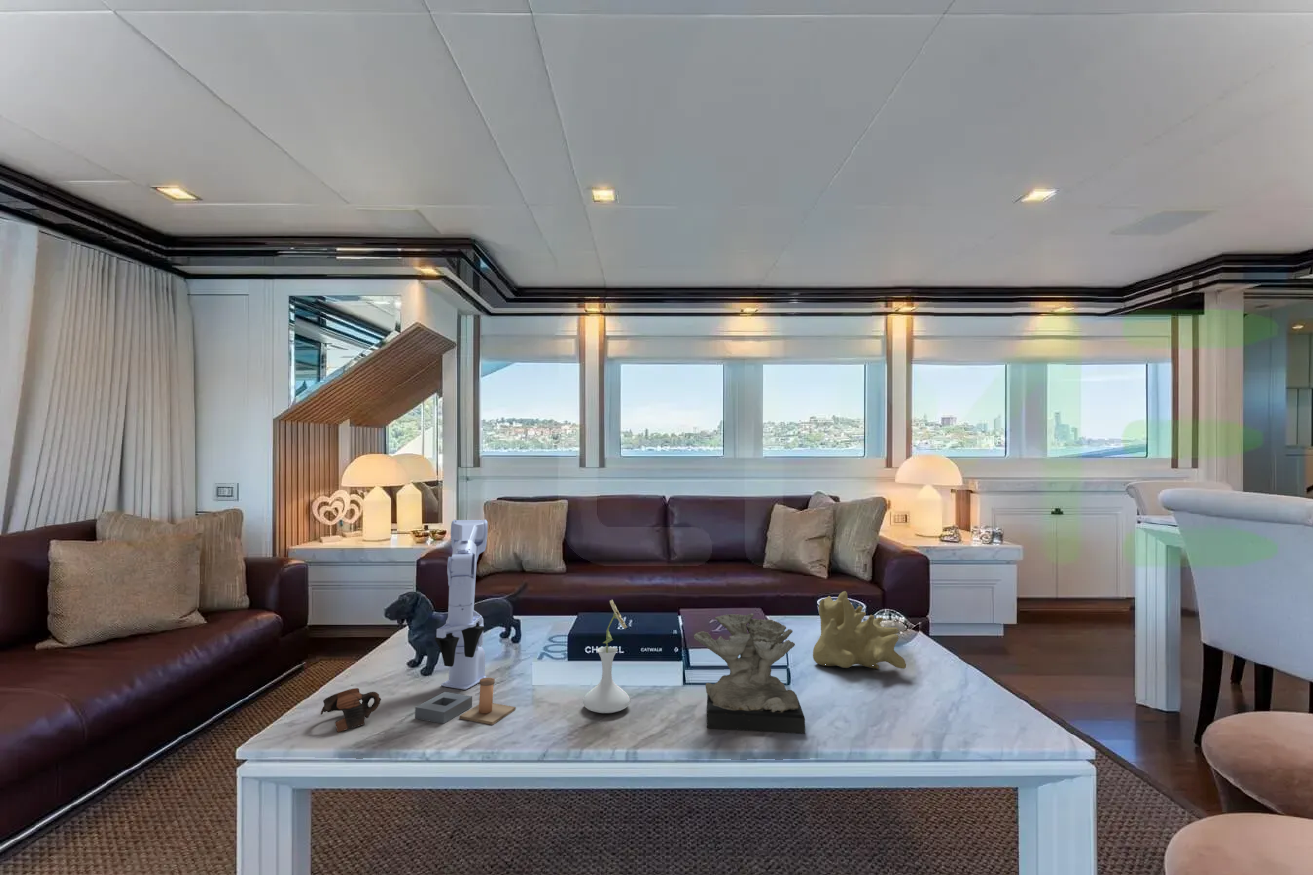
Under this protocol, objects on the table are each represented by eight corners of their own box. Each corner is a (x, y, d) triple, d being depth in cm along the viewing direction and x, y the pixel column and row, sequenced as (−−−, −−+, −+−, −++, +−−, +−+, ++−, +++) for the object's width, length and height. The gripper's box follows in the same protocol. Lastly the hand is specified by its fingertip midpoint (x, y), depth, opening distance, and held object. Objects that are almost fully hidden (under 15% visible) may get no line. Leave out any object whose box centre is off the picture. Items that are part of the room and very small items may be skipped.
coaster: (483, 703, 143) (483, 701, 143) (515, 709, 140) (515, 706, 140) (459, 718, 135) (459, 715, 135) (492, 724, 132) (492, 722, 132)
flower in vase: (623, 720, 135) (624, 609, 136) (575, 715, 137) (577, 606, 138) (636, 698, 148) (638, 597, 149) (592, 694, 150) (594, 594, 151)
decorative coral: (783, 614, 187) (848, 567, 185) (824, 663, 190) (887, 617, 188) (806, 659, 162) (881, 605, 159) (852, 715, 165) (926, 662, 163)
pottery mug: (321, 739, 125) (314, 699, 128) (330, 741, 133) (323, 704, 136) (382, 715, 130) (374, 677, 133) (387, 718, 138) (379, 683, 141)
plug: (483, 707, 140) (485, 676, 140) (495, 709, 138) (497, 678, 139) (474, 712, 136) (476, 680, 137) (487, 714, 135) (488, 682, 136)
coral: (690, 727, 132) (691, 629, 133) (696, 693, 152) (696, 608, 153) (805, 735, 128) (805, 635, 129) (795, 699, 148) (795, 612, 150)
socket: (444, 702, 144) (444, 691, 144) (471, 706, 141) (472, 696, 141) (414, 718, 135) (415, 706, 135) (443, 723, 132) (444, 712, 132)
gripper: (454, 611, 136) (453, 672, 135) (492, 599, 149) (491, 654, 148) (430, 608, 138) (427, 668, 137) (469, 597, 152) (467, 651, 151)
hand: (459, 661), depth 143 cm, fingers open, 7 cm apart
